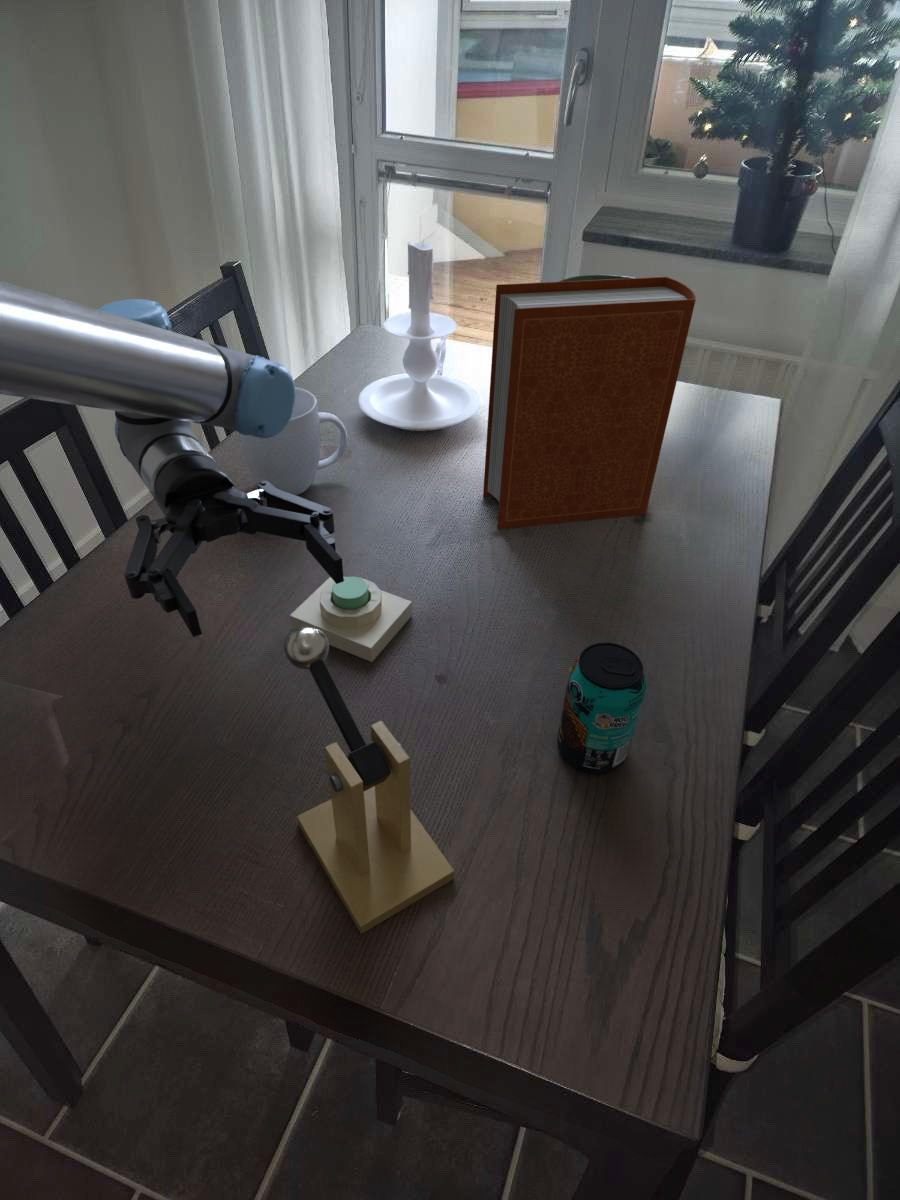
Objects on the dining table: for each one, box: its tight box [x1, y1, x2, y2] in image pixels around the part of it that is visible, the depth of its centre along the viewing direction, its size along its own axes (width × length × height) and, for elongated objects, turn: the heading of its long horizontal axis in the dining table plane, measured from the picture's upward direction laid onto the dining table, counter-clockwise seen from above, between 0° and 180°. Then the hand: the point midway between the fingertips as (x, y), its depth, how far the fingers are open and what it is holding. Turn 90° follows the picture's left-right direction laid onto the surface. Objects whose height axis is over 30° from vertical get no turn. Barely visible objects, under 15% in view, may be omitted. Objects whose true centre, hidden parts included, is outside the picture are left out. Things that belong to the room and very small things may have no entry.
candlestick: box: [357, 238, 483, 432], centre depth 121 cm, size 21×25×28 cm
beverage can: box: [556, 642, 648, 774], centre depth 72 cm, size 7×7×12 cm
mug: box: [238, 386, 348, 496], centre depth 107 cm, size 15×11×13 cm
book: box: [482, 276, 697, 530], centre depth 99 cm, size 23×8×30 cm, turn 102°
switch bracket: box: [296, 720, 455, 935], centre depth 62 cm, size 12×9×14 cm
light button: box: [332, 575, 368, 610], centre depth 86 cm, size 4×4×2 cm
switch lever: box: [284, 625, 391, 791], centre depth 60 cm, size 14×4×4 cm, turn 33°
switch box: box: [289, 575, 413, 663], centre depth 88 cm, size 11×9×4 cm
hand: (270, 596), depth 67 cm, fingers open, 13 cm apart
